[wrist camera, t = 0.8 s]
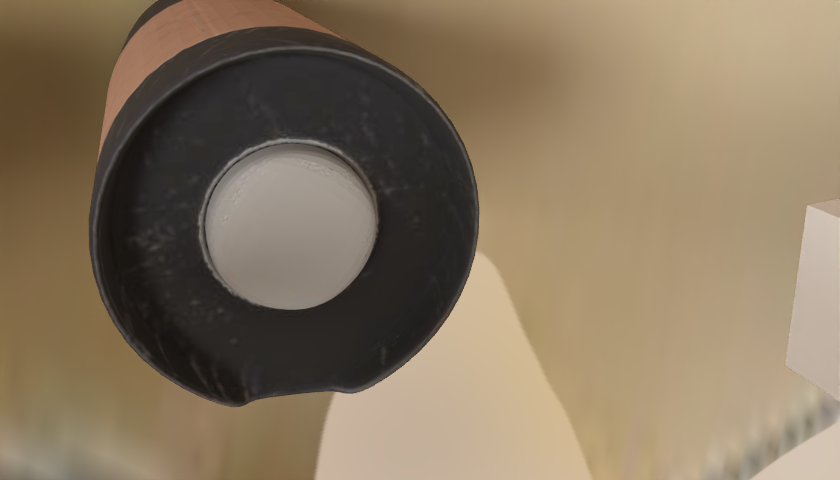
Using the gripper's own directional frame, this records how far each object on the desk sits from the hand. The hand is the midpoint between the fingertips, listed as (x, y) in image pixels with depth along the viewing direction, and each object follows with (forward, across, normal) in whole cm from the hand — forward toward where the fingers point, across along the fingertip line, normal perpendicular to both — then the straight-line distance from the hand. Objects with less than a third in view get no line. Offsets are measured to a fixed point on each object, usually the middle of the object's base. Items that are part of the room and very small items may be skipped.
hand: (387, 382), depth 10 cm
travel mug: (+25, 0, 0) cm, 25 cm away
